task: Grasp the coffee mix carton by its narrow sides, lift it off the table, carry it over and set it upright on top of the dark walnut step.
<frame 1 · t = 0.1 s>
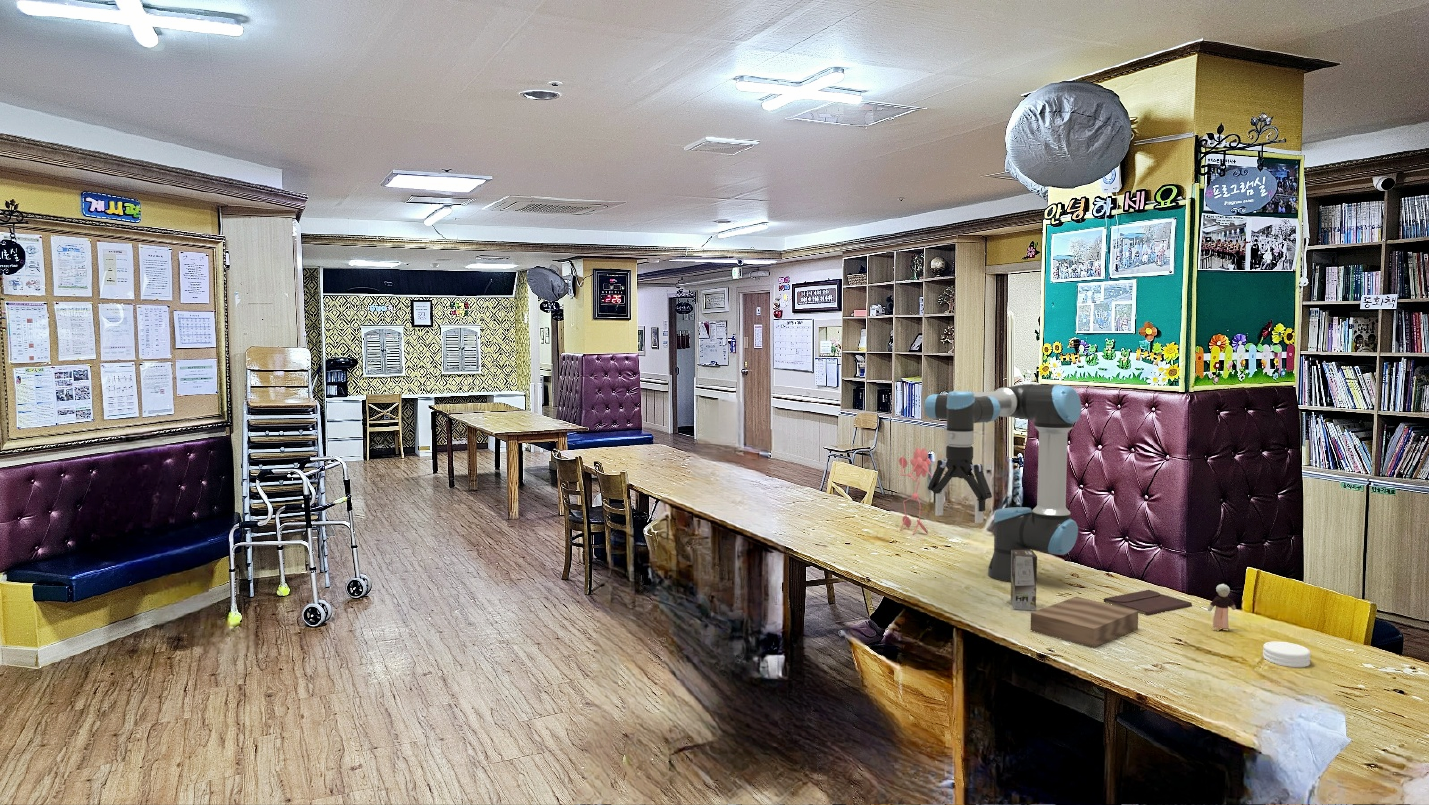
hand: (958, 519, 260), 28 cm above the table, tool pointing down, fingers open, 13 cm apart
walnut step: (1084, 629, 248), on the table
figurine: (920, 531, 374), on the table
white round tin: (1286, 662, 224), on the table
grandmother figurine: (1221, 630, 247), on the table
notebook: (1147, 606, 271), on the table
coffee box: (1023, 606, 270), on the table
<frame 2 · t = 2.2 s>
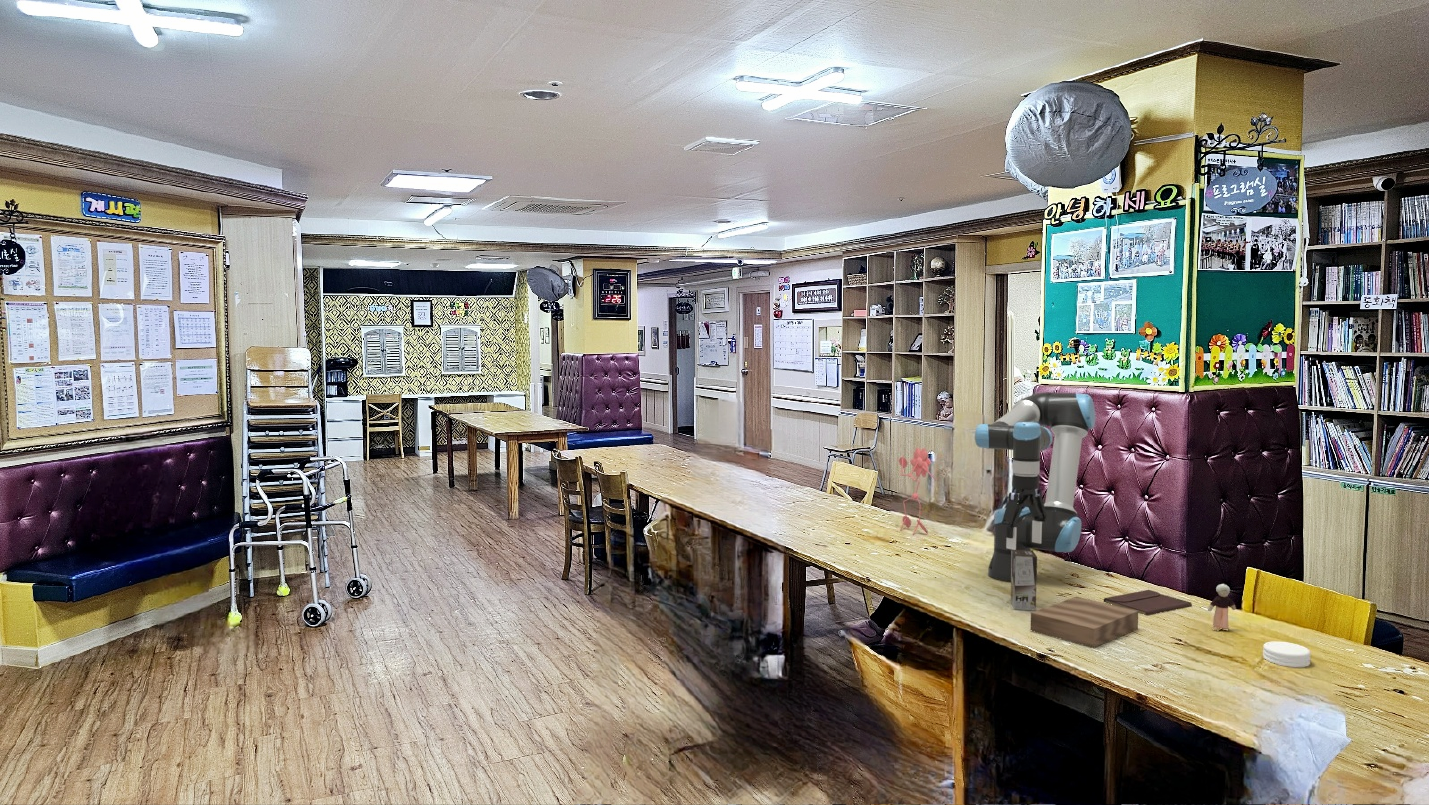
hand: (1024, 545, 268), 18 cm above the table, tool pointing down, fingers open, 13 cm apart
nothing on the table moved.
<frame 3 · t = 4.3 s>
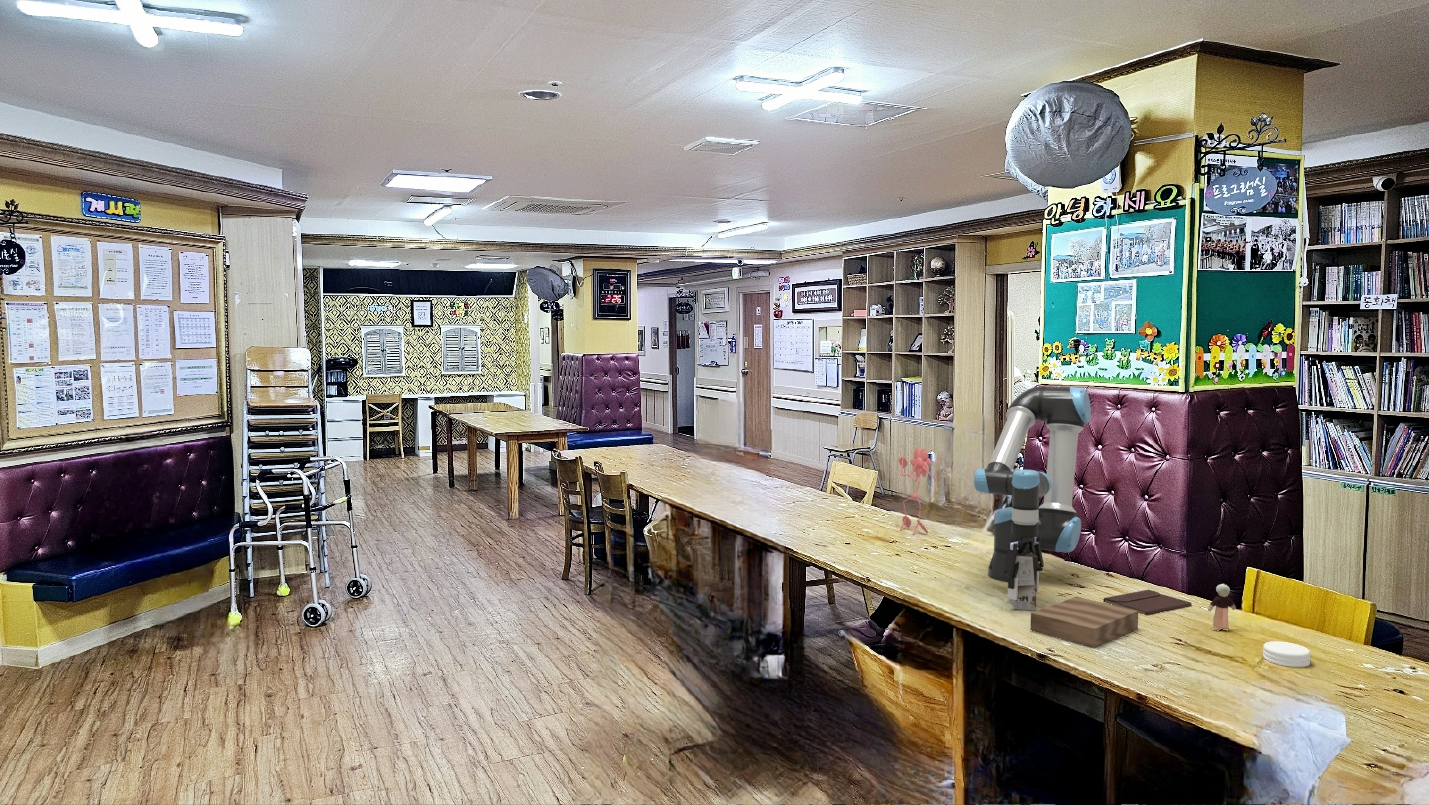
hand: (1023, 595, 269), 3 cm above the table, tool pointing down, fingers closed on coffee box, 11 cm apart
coffee box: (1023, 606, 270), on the table, touching gripper
everything else where it was.
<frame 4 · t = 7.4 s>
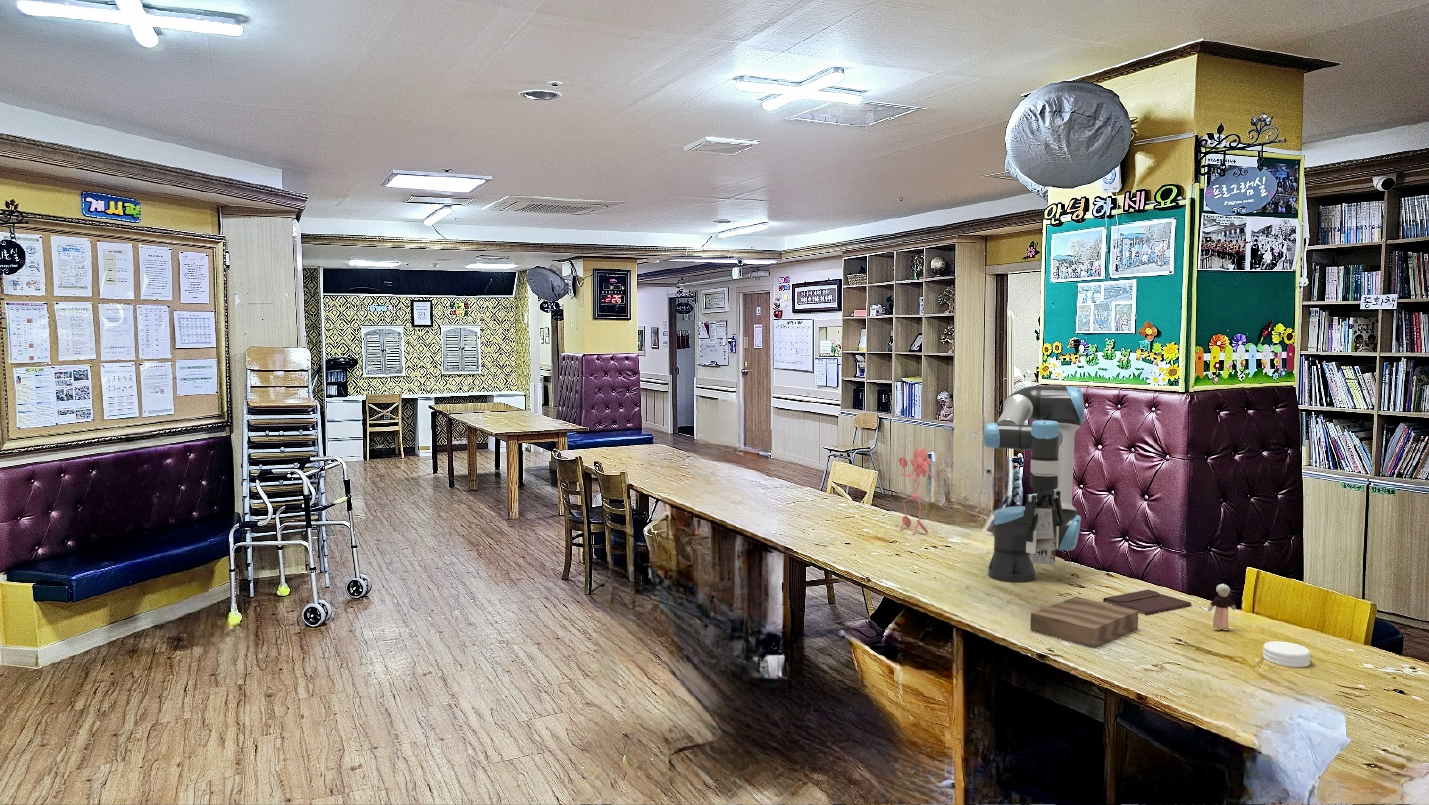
hand: (1042, 550, 261), 19 cm above the table, tool pointing down, fingers closed on coffee box, 11 cm apart
coffee box: (1041, 561, 261), point 15 cm above the table, touching gripper
everything else where it was.
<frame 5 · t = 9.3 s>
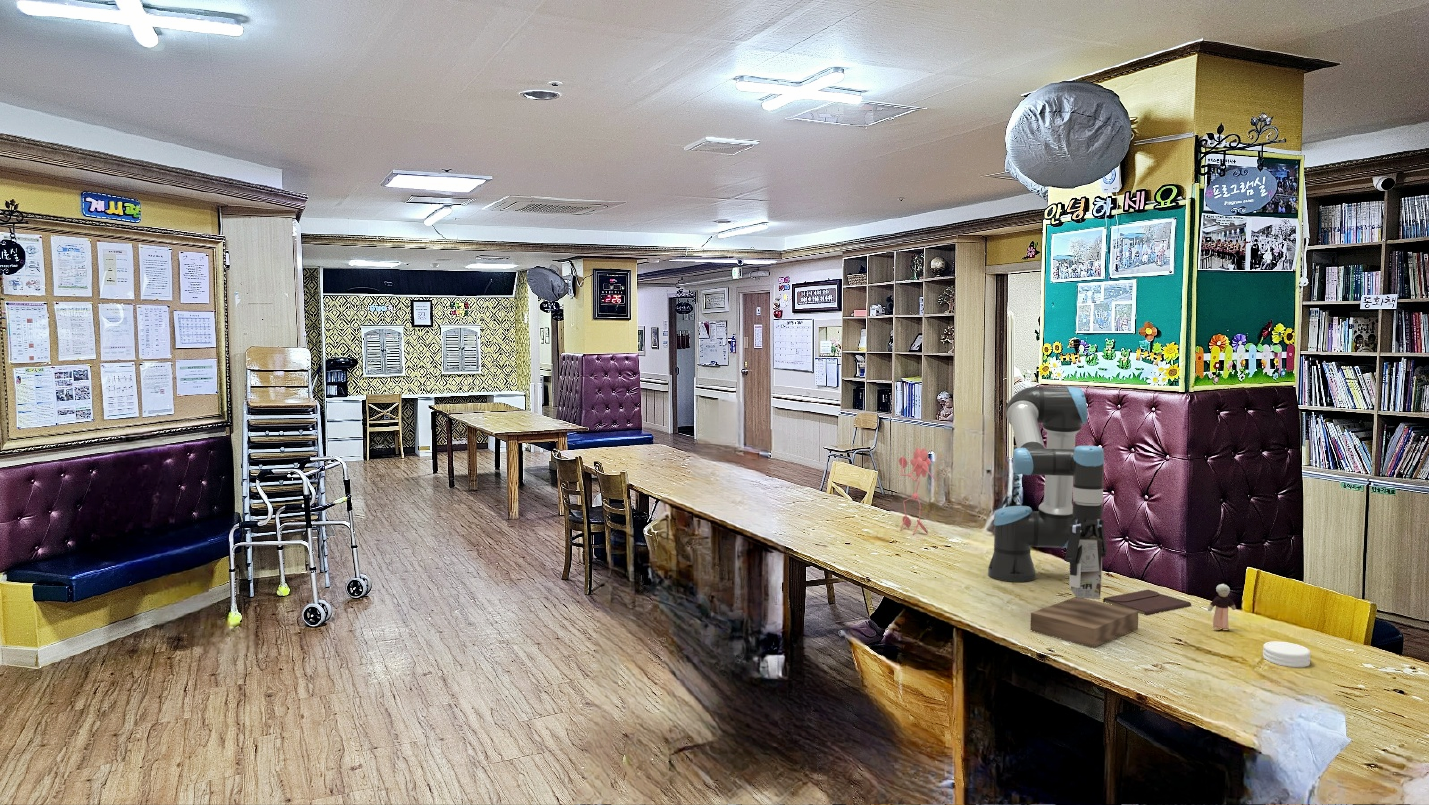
hand: (1085, 583, 247), 13 cm above the table, tool pointing down, fingers closed on coffee box, 11 cm apart
coffee box: (1085, 595, 247), point 10 cm above the table, touching gripper
everything else where it was.
when the fingers open (10 cm above the table, at t = 10.8 s): coffee box drops 2 cm, resting on walnut step.
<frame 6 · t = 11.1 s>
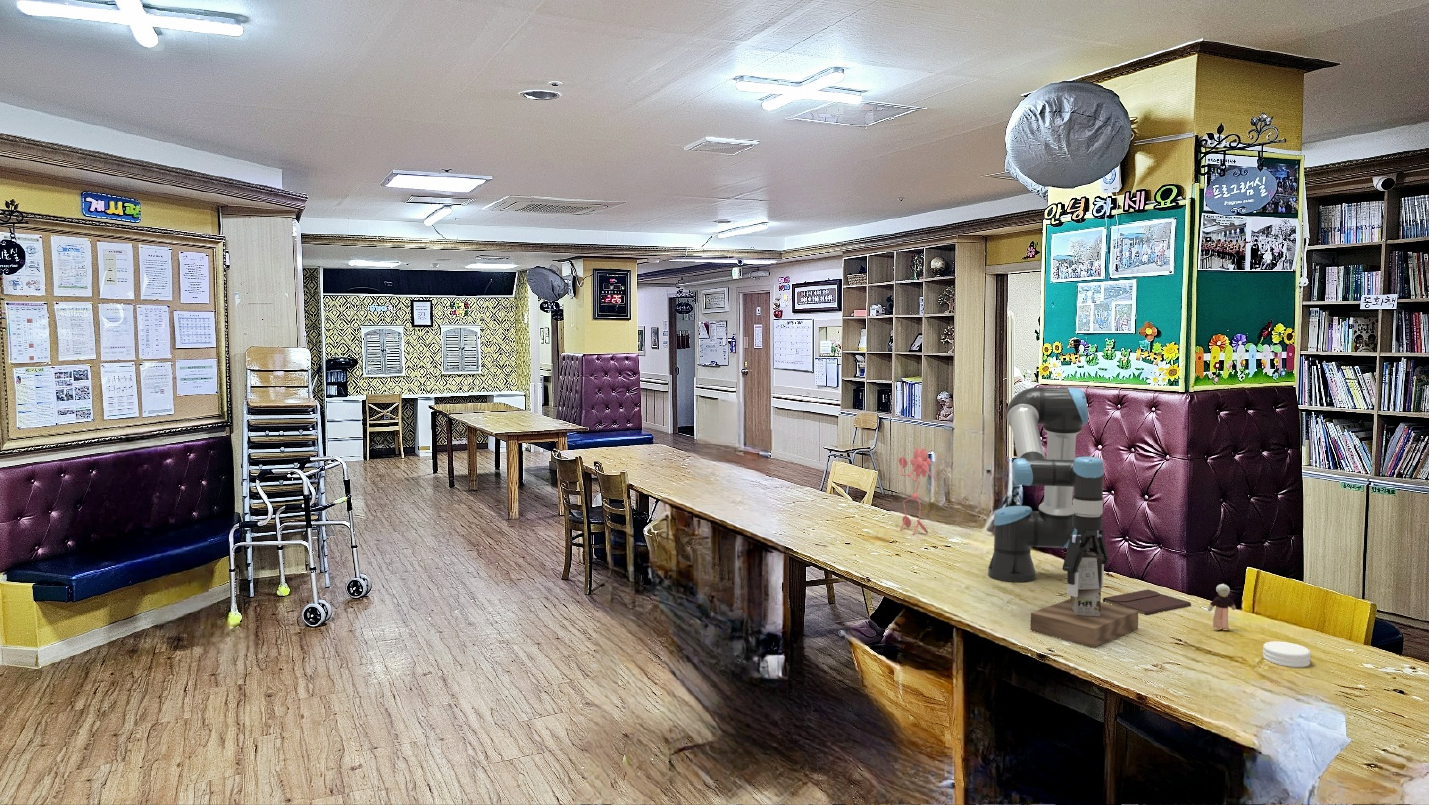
hand: (1085, 591, 247), 11 cm above the table, tool pointing down, fingers open, 13 cm apart
coffee box: (1085, 612, 248), point 5 cm above the table, touching walnut step
everything else where it was.
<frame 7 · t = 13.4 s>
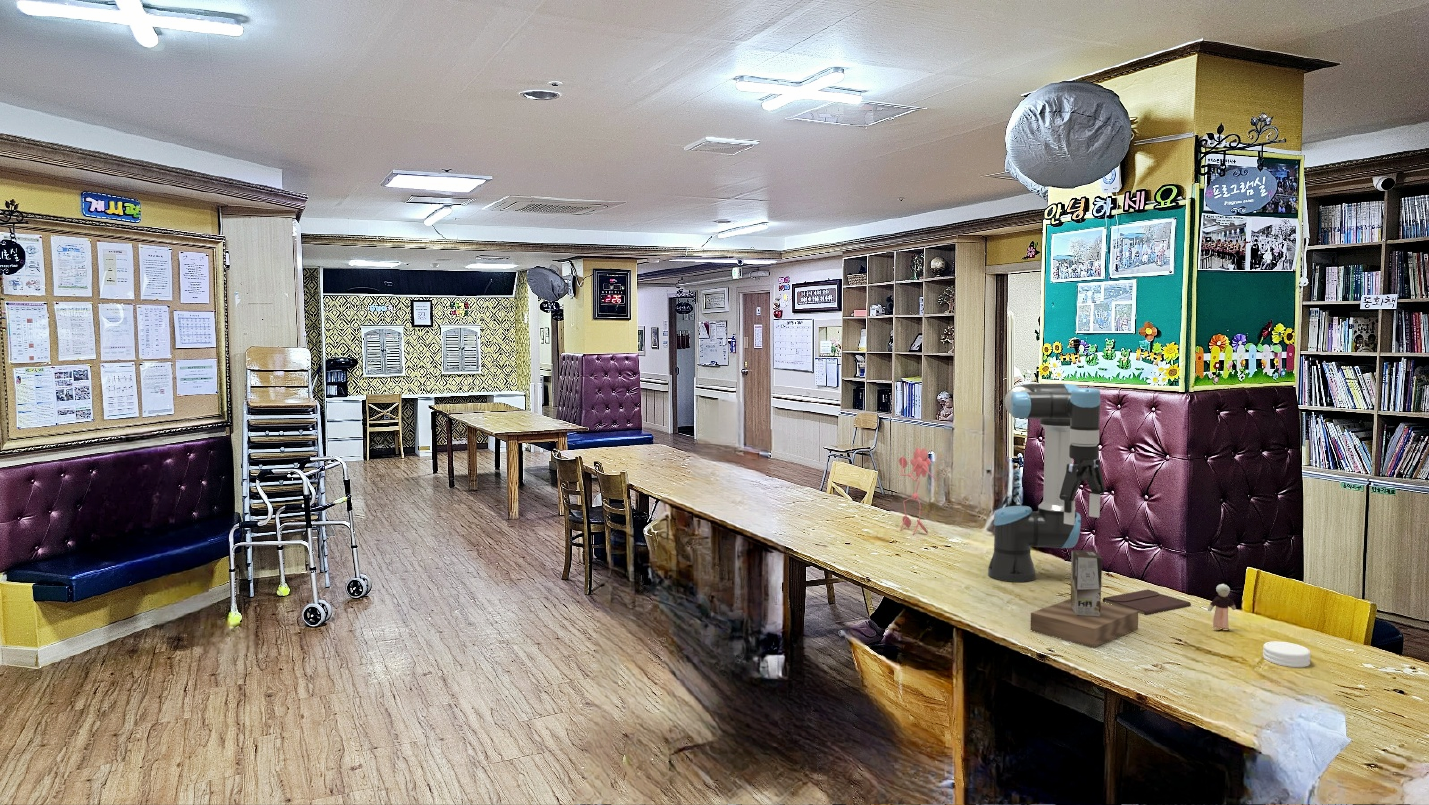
hand: (1081, 520, 250), 29 cm above the table, tool pointing down, fingers open, 13 cm apart
nothing on the table moved.
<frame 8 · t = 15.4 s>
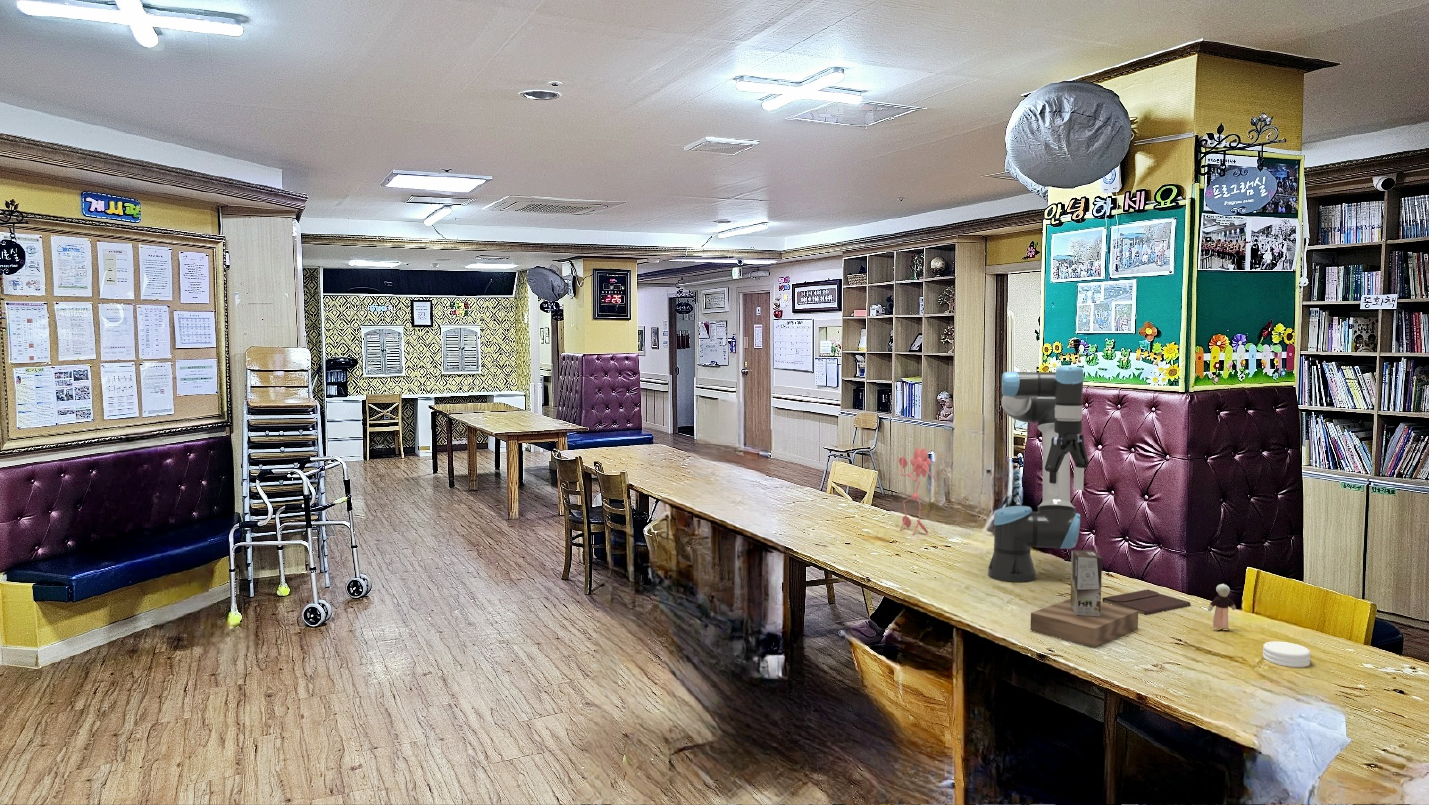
hand: (1066, 492, 265), 35 cm above the table, tool pointing down, fingers open, 13 cm apart
nothing on the table moved.
at the end: coffee box inside the target area on the walnut step (0.4 cm from its centre), point 4.8 cm above the walnut step's base; coffee box tilted 0°; the gripper is holding nothing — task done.
